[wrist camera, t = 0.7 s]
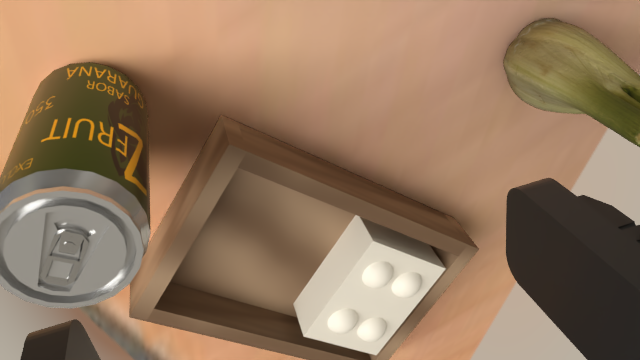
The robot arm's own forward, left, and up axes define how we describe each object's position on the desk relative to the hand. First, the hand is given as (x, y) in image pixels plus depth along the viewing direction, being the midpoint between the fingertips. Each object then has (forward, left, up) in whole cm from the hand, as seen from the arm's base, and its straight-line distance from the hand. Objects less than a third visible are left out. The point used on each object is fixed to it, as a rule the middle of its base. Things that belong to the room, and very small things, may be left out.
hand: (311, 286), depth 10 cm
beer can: (+8, -3, -21) cm, 23 cm away
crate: (+11, +12, -21) cm, 27 cm away
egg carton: (+11, +17, -20) cm, 28 cm away
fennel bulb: (-6, +18, -21) cm, 29 cm away
